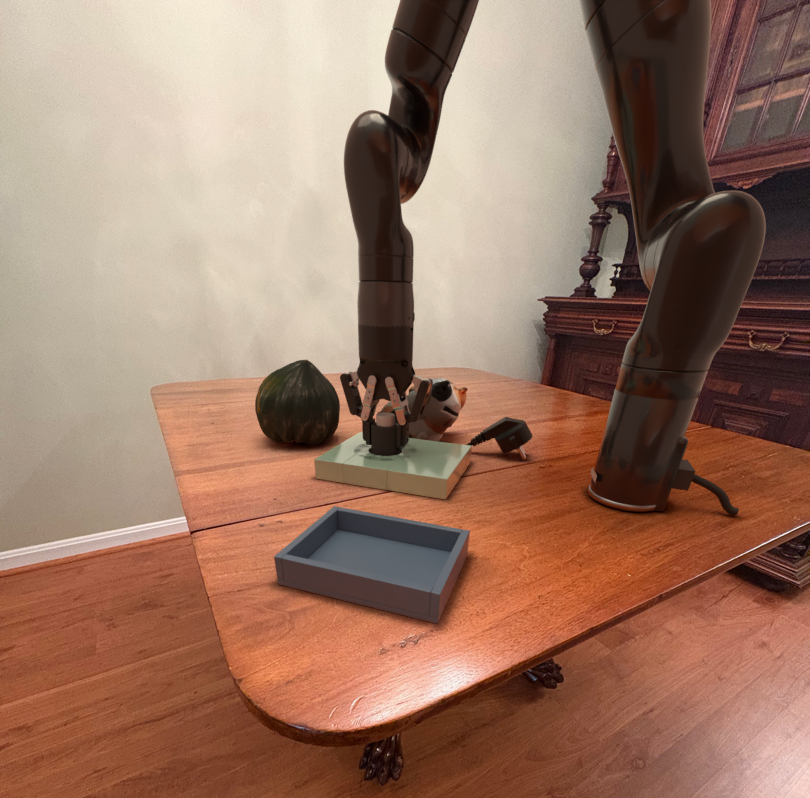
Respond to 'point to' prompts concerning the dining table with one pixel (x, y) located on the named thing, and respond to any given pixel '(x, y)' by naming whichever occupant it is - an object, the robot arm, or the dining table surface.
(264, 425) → the squash
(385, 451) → the dark brown bottle
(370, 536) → the blue-grey tray
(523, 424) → the power plug
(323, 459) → the drain board
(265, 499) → the dining table surface
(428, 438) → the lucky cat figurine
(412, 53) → the robot arm
